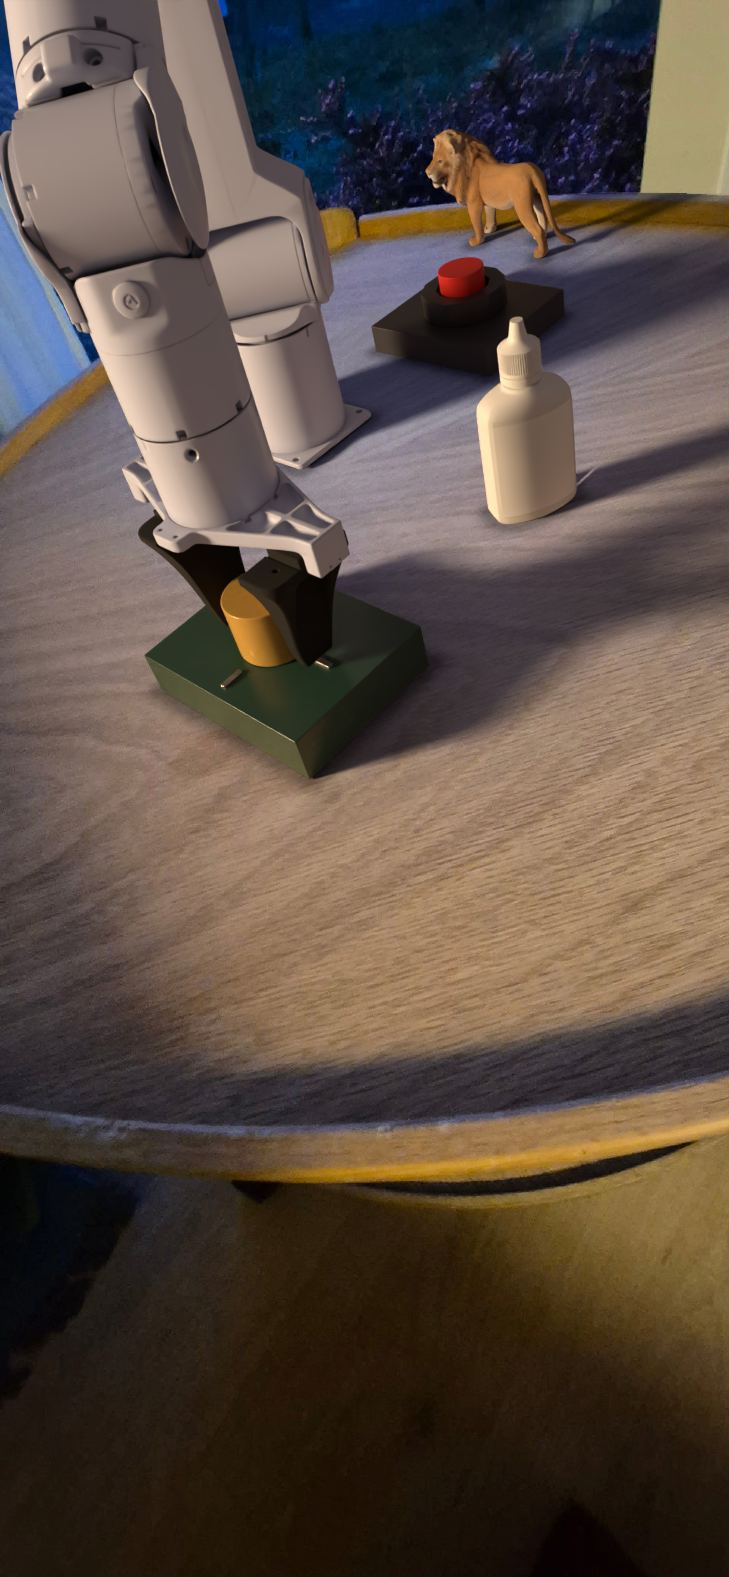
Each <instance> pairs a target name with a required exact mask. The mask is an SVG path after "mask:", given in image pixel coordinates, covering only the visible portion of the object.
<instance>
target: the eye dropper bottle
mask: <svg viewBox="0 0 729 1577" xmlns="http://www.w3.org/2000/svg"><path fill="white" fill-rule="evenodd" d="M541 346H542V345H541V340H540V339H539V337H538V338H537V337H536V336H534V335H531V334H527V332H526V329H525V326H524V322H523V318H522V317H514V318H512V319H511V320H510V325H509V335H508V338H506V339H504V340H503V341H502V342H501V343H500V344H499V345H498V347H497V354H498V364H499V370H498V371H499V373H498V374H499V381H500V382H499V383H497V384H496V385H495V386H494V387H493V388H492V389H490V390H489V391H488V392H487V393H486V394H485V395H484V396H483V397H481V400H480V401H479V402H478V404H477V406H476V423H477V432H478V440H479V448H480V457H481V464H482V471H483V480H484V488H485V495H486V503H487V508H488V511H489V512H490V514H492V516H493V517H494V518H495V519H496V520H497V522H499V523H500V524H501V525H502V524H503V525H513V524H520V523H524V522H529V521H532V520H537V519H539V518H542V517H545V516H547V515H549V514H551V513H554V512H556V511H557V510H559V509H561V508H562V507H564V506H565V505H566V504H568V503H570V501H572V500H573V499H574V497H575V496H576V494H577V490H578V489H577V488H578V486H577V485H578V484H577V463H576V444H575V443H576V442H575V424H574V423H575V422H574V406H573V394H572V390H571V386H570V385H569V383H568V382H567V381H566V380H565V378H563V377H562V376H561V375H559V374H557V373H555V372H553V371H552V372H551V371H543V364H542V348H541Z"/></svg>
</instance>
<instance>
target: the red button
mask: <svg viewBox="0 0 729 1577" xmlns="http://www.w3.org/2000/svg"><path fill="white" fill-rule="evenodd" d="M484 266H485V265H484V262H483V259H481V258H479V257H475V256H464V257H459V258H454V259H452V260H449V261H447V262H445V263H444V264H442V265H441V266H440V267H439V268H438V270H437V276H438V279H439V286H440V293H441V296H442V297H448V298H458V297H466V296H468V295H471V294H474V293H477V292H479V291H481V290H482V289H483V288H485V286H486V283H485V273H484Z"/></svg>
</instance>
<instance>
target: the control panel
mask: <svg viewBox="0 0 729 1577" xmlns="http://www.w3.org/2000/svg"><path fill="white" fill-rule="evenodd" d="M423 633H424V632H423V629H422V626H421V625H420V624H417V623H416V622H413V621H410V620H409V619H406V618H404V617H401V616H399V615H397V614H394V613H393V612H390V611H387V610H386V609H383V608H380V607H379V606H376V605H373V604H371V603H369V602H366V601H364V600H362V599H359V598H357V597H355V596H353V595H351V594H347V593H345V592H343V591H341V590H339V589H336V588H335V591H334V598H333V614H332V647H331V648H330V649H329V650H328V651H327V652H326V653H325V654H323V655H322V656H321V657H320V658H319V659H318V660H317V661H316V662H314V663H313V664H312V665H311V666H310V667H306V666H304V665H302V664H300V663H299V662H298V661H297V660H296V659H294V660H292V661H290V662H288V663H285V664H282V665H278V666H272V667H261V666H256V665H253V664H251V663H249V662H247V661H246V660H245V659H244V658H243V657H242V655H241V653H240V651H239V648H238V646H237V643H236V641H235V639H234V636H233V634H232V631H231V629H230V627H227V626H225V625H223V624H221V623H220V622H219V621H218V620H217V619H216V618H215V616H214V615H213V614H212V613H211V612H210V610H209V609H208V608H207V606H206V605H205V604H204V606H203V607H202V608H200V609H199V610H198V611H196V612H195V613H194V614H193V615H191V616H190V617H189V618H188V619H186V621H184V622H183V623H182V624H180V625H179V626H178V627H177V628H175V629H174V630H173V631H172V632H170V633H169V634H167V636H166V637H164V638H163V639H162V640H161V641H159V642H158V643H157V644H156V645H155V646H153V647H152V648H151V649H150V650H148V651H147V652H146V653H145V654H144V655H143V657H144V658H145V660H146V663H147V664H148V666H149V668H150V670H151V672H152V673H153V676H154V677H155V679H156V682H157V683H158V685H159V687H160V689H161V691H162V692H164V693H165V694H166V695H168V696H170V697H172V698H173V699H175V700H177V701H178V702H180V703H182V704H183V705H185V706H187V707H188V708H190V709H192V710H194V711H195V712H197V713H198V714H200V715H201V716H203V717H205V718H207V719H208V720H210V721H212V722H213V723H215V724H216V725H218V726H220V727H222V728H223V729H225V730H227V731H228V732H230V733H231V734H233V735H235V736H237V738H240V739H241V740H243V741H244V742H247V743H248V744H250V745H252V746H253V747H255V748H257V749H258V750H260V751H262V752H263V753H265V754H266V755H269V756H270V757H272V758H273V759H275V760H276V761H278V762H279V763H282V764H283V765H285V766H286V767H288V768H290V769H291V770H293V771H295V772H296V773H298V774H300V775H302V776H303V777H305V778H307V779H308V780H312V779H313V778H314V777H315V776H316V775H317V774H318V773H319V772H320V771H321V770H322V769H323V768H324V767H325V766H326V765H327V764H328V763H329V762H330V761H331V760H333V758H335V756H337V755H338V754H339V753H340V752H341V751H342V750H343V749H344V748H345V747H346V746H347V745H348V744H349V743H351V741H352V740H353V739H354V738H356V736H357V735H358V734H360V733H361V732H362V731H363V730H364V729H365V728H366V727H367V726H368V725H369V724H370V723H371V722H372V721H374V719H376V717H377V716H379V714H380V713H381V712H383V711H384V710H385V709H386V707H388V706H389V705H390V704H391V703H392V702H393V701H394V700H395V699H396V698H397V697H398V696H399V695H400V694H401V693H402V692H403V691H404V690H406V688H407V687H409V686H410V685H411V684H412V683H413V682H414V681H415V680H416V679H417V678H418V677H419V676H420V675H421V674H422V673H423V672H424V671H425V670H427V668H428V667H429V666H430V661H429V657H428V653H427V652H428V651H427V647H426V644H425V638H424V634H423Z"/></svg>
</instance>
